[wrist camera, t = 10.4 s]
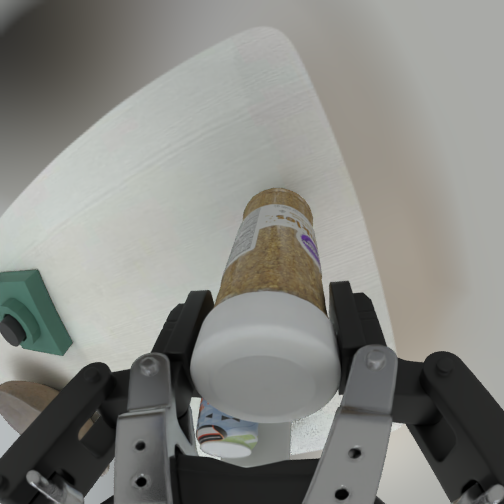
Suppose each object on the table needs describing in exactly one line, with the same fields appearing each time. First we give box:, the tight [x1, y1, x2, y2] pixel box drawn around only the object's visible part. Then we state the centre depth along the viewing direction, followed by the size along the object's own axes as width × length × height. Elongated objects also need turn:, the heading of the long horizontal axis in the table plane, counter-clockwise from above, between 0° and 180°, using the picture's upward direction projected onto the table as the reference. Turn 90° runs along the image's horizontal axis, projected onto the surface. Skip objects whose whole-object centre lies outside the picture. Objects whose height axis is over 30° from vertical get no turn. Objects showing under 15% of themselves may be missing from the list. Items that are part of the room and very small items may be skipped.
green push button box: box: [0, 270, 73, 356], centre depth 34 cm, size 12×10×5 cm
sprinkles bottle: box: [190, 188, 341, 423], centre depth 14 cm, size 5×4×14 cm
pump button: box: [0, 314, 26, 347], centre depth 31 cm, size 4×4×2 cm
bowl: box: [0, 381, 109, 476], centre depth 43 cm, size 26×26×10 cm
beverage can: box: [196, 397, 259, 458], centre depth 30 cm, size 6×7×12 cm
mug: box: [220, 421, 292, 468], centre depth 35 cm, size 12×8×11 cm
